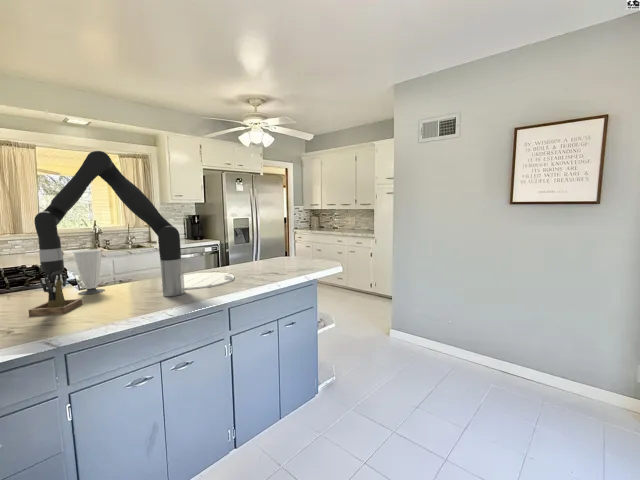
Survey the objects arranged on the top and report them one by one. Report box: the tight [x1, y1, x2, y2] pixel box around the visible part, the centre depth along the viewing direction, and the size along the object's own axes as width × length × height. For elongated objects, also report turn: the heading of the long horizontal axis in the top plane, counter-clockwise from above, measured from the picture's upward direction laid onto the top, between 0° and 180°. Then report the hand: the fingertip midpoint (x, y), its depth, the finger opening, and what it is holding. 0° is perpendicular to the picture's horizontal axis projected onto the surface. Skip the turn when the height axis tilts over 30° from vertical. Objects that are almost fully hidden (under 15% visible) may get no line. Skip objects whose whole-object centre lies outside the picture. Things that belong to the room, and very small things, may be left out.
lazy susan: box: [161, 272, 235, 290], centre depth 188 cm, size 40×39×3 cm
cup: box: [73, 248, 106, 296], centre depth 167 cm, size 12×12×22 cm
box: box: [28, 298, 83, 317], centre depth 139 cm, size 13×13×2 cm
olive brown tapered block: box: [47, 280, 66, 308], centre depth 138 cm, size 6×6×11 cm
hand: (56, 299), depth 138 cm, fingers closed on olive brown tapered block, 4 cm apart
